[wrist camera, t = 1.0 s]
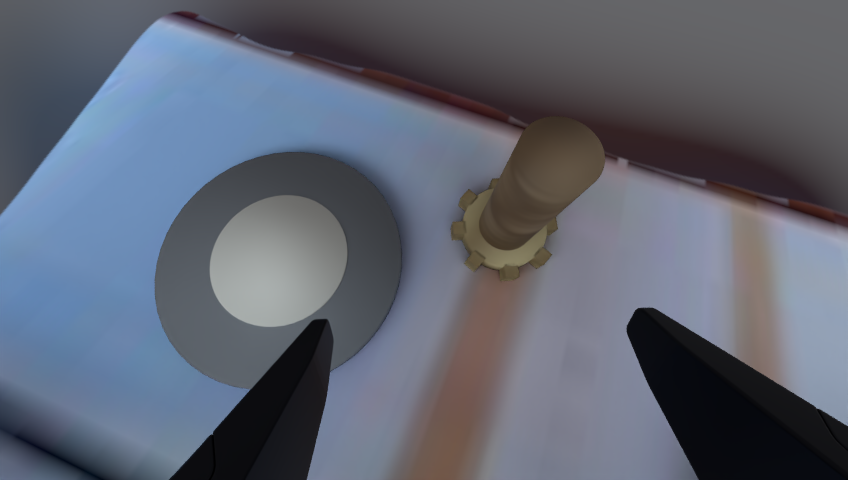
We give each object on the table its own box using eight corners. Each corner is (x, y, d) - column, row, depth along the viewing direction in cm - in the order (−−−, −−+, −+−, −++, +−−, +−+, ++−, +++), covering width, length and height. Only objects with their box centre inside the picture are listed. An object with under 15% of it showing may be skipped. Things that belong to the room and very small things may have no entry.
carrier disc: (448, 252, 25) (450, 247, 24) (273, 448, 21) (263, 455, 19) (296, 123, 28) (290, 113, 27) (119, 269, 24) (102, 266, 23)
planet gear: (568, 228, 26) (680, 147, 15) (509, 302, 24) (587, 273, 13) (491, 170, 27) (540, 56, 16) (430, 235, 25) (439, 158, 14)
